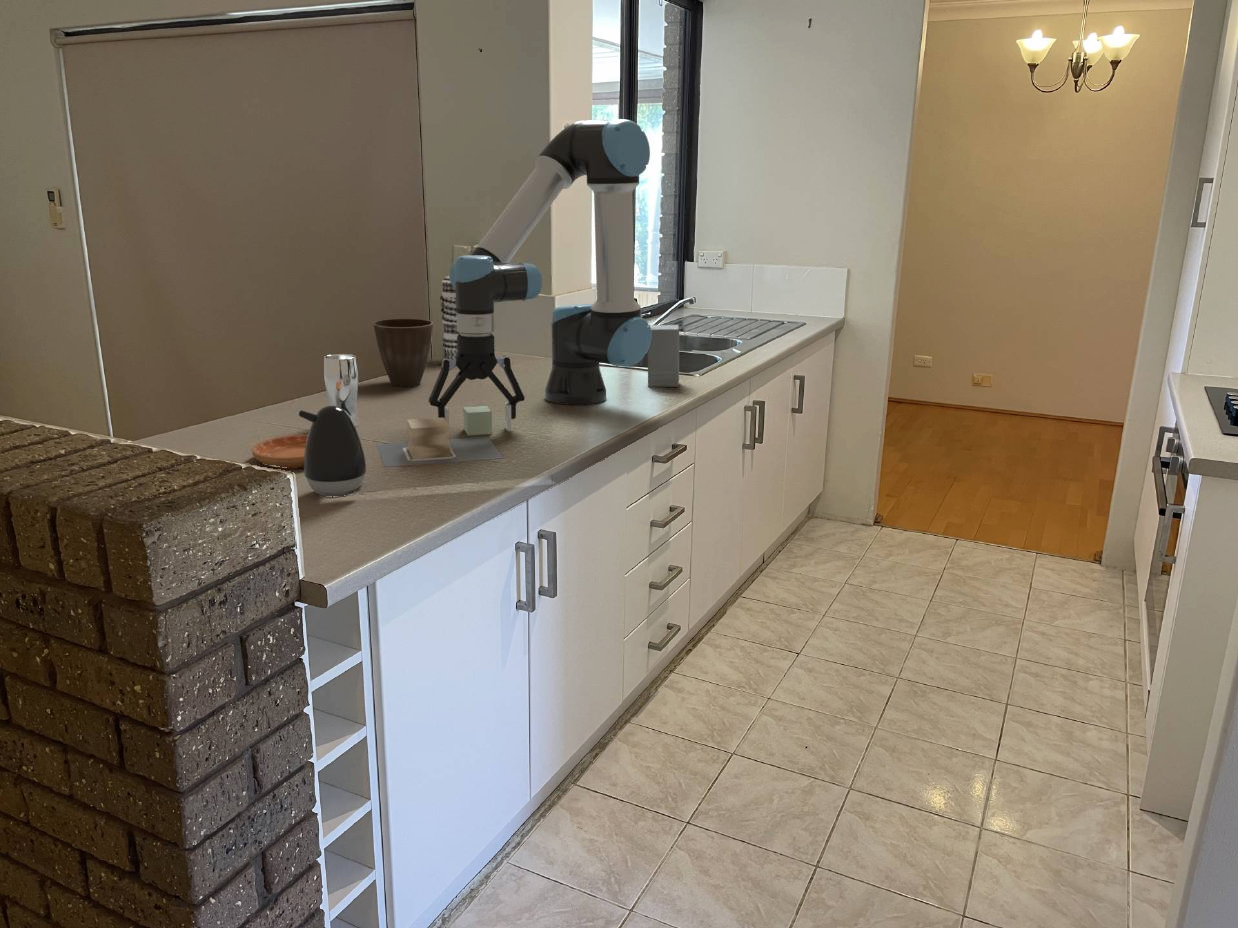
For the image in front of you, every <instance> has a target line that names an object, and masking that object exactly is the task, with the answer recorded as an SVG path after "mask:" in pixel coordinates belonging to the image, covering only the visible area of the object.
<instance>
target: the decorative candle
mask: <svg viewBox="0 0 1238 928" xmlns="http://www.w3.org/2000/svg"><path fill="white" fill-rule="evenodd" d="M441 282H442V292H441V293H442V294H441V295H440V297H439V299H440V300H441V301H442V302H441V303H440V307H441V309H440V312H441V314H442V315H441V319H442V320H441V322H442V323H443V329H444V331H443V338H442V342H443V344H442V347H444V349H443V350H442V353H443V356H442V357H443V358H446V359H453V360H456V358H457V336H458V335H459V334H460V333H459V332H457V317H456V289H455V288H454V287H453V286H452V284H451V282H450V278H449V274H447V275H445V276H444V278H443V280H441ZM443 358H442V359H443Z"/></svg>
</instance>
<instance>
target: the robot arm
mask: <svg viewBox="0 0 1238 928" xmlns="http://www.w3.org/2000/svg"><path fill="white" fill-rule="evenodd" d="M650 157H651V146H650V142H649V140H648V136H647V135H646V132H645V131H644V130H643V129H642V127H641V126H640V125H639V124H638V123H636V122H635V121H633V120H630V119H623V118H612V119H595V120H593V119H592V120H589V119H584V120H579V121H576V122H573V123H571V124H569V125H568V126H566V127H564V128H563V129H562V130H561V131H560V132H559V133H558V134H556V135H555V136H554V137H553V138H552V140H550V142H548V143H547V145H545V147H544V148H543V149H542V151H541V152H540V153H539V155H538V156H537V157H536V159H535V163H534V165H535V167H534V169H533V171H532V172H531V173H530V174H529V176H528V177H527V178H526V180H525V181H524V183H522V185H521V186H520V188H519V189H518V191H517V192H516V193H515V194H514V196H513V197H512V199H511V200H510V201H509V203H508V204H507V206H506V207H505V208H504V209H503V211H502V212H501V214H500V215H499V216H498V218H497V219H496V220H495V221H494V222H493V224H492V226H491V227H490V228H489V230H488V231H487V233H486V234H485V235H484V237H482V239H481V241H480V242H479V243H478V244H477V246H476V248H475V249H474V250H473V251H472V253H471V254H470V255H460V256H458V257H457V258H456V260H455V261H454V262H453V263H452V265H451V266H450V267H449V268H450V269H449V272H448V273H449V274H448V275H449V278H450V282H451V284H452V286H453V287H454V288H455V289H456V317H457V332H459V333H460V334H459V335H458V336H457V358H456V360H453V359H446V358H442V359H441V368H440V371H439V374H438V376H437V378H436V381H435V383H434V386H433V388H432V391H431V392H430V395H429V398H428V403H429V405H430V406H431V407H436V408H437V418H444V419H445V420H446V422H447V423H448V425H449V426H450V412H449V411H450V409H449V406H447V404H448V403H449V402H450V401H451V399H452V398H453V397H454V395H455V394H456V392H457V391H458V390H459V388H460V387H461V386H462V384H463V383H464V382H465V381H466V380H470V381H473V380H476V379H479V380H485V379H487V378H489V379H490V381H491V382H492V383H493V384H494V385H495V387H497V389H498V390H499V391H500V393H501V394H502V395H503V396H504V397H505V399H506V400H507V401H508V402H504V426H505V427H504V428H505V430H506V431H508V432H512V420H516V417H517V404H518V403H519V402H523V401H525V395H524V394H523V391H522V389H521V387H520V384H519V383H518V380H517V378H516V376H515V374H514V371H513V370H512V366H511V359H510V357H508V356H507V355H503V356H502V357H501V356H500V357H496V354H495V336H494V334H493V332H495V314H494V313H495V309H494V308H495V303H499V302H500V303H502V302H517V301H521V302H524V301H525V302H526V301H527V300H532V299H535V298H536V297H538V296H539V295H540V293H541V292H542V288H543V277H542V273H541V271H540V269H539V268H538V267H537V266H536V264H532V263H527V262H525V263H524V262H519V263H509V262H510V261H511V260H512V259H513V257H514V256H515V255H516V254H517V252H518V250H519V249H520V248H521V246H522V245H523V244H524V242H525V241H526V240H527V238H528V237H529V236H530V234H531V232H532V231H533V230H534V229H535V227H536V226H537V224H538V223H539V222H540V220H541V219H542V218H543V217H544V215H545V214H546V212H547V211H548V210H549V209H550V207H551V205H552V204H553V203H554V201H555V200H556V199H557V197H558V196H559V195H560V193H561V192H562V191H563V190H567V189H569V188H570V187H571V186H572V185H573V183H574V182H575V181H576V180H577V179H579V178H581V177H584V176H586V185H587V186H588V188H589V189H590V190H592V193H593V201H594V202H593V204H594V206H593V207H594V209H593V210H594V235H595V236H594V237H595V238H594V239H595V240H594V242H595V247H594V248H595V273H596V274H595V275H596V277H595V280H596V300H595V302H594V303H589V304H575V305H574V304H573V305H564V306H563V305H562V306H558V307H555V308H554V310H553V311H552V316H551V317H552V319H551V357H552V358H551V362H552V363H551V364H552V366H551V370H550V373H549V377H548V378H547V379H548V380H547V382H546V387H545V389H544V398H545V400H546V401H548V402H551V403H555V404H562V405H574V406H575V405H576V406H577V405H582V406H583V405H592V404H597V403H602V402H605V401H606V399H607V388H606V385H605V382H604V378H603V375H602V372H601V367H600V366H601V365H600V363H604V364H609V365H612V366H614V367H615V366H616V367H632V366H635V365H636V364H638V363H640V362H641V361H642V360H643V359H644V357H645V355H646V354H648V349H649V347H650V344H651V338H652V332H651V328H650V325H651V324H649V322H648V321H647V320H646V319H645V318H644V317H642V310H641V309H642V307H641V304H639V303H638V302H637V301H636V300H635V281H634V280H635V279H634V277H635V276H634V275H635V273H634V272H635V270H634V269H635V268H634V265H635V264H634V263H635V262H634V214H633V212H634V211H633V210H634V209H633V208H634V207H633V206H634V205H633V204H634V202H633V201H634V197H633V192H634V190H635V189H636V188H637V187H638V186H639V184H640V176H641V174H642V173H644V172H645V171H646V169H647V165H649V163H650V160H651V158H650ZM497 364H498V365H499V367H500V368H501V369H503V371H504V373H505V376H506V377H507V379H508V382H509V384H510V385H511V387H512V390H513V392H514V394H515V395H513V394H511V392H510V391H509V390H508V389H507V387H505V385H504V384H503V383H502V382H501V380H500V379H499V378H498V377H497V376H496V375H495V373H494V372H493V371H494V369H495V367H496V366H497ZM454 366H456V367H457V368H458V370H459V371H458V373H456V375H455V378H454V379H453V380H452V381H451V383H450V384H449V386H448V387H447V389H446V390H445V391H444V392H443V394H442V396H441V397H440V395H441V393H442V390H443V388H444V385H445V383H446V381H447V378H448V377H449V376H448V375H449V372H450V371H451V370H453V367H454ZM439 397H440V398H439Z"/></svg>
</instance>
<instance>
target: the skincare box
mask: <svg viewBox="0 0 1238 928" xmlns="http://www.w3.org/2000/svg"><path fill="white" fill-rule="evenodd" d="M649 325H650V328H651V332H652V338H651V344H650V347H649V349H648V351H647V386H648V388H649V387H650V388H651V387H652V388H656V387H657V388H678V387H679V382H680V325H679V324H665V325H664V324H663V325H662V324H660V325H659V324H658V325H657V324H649Z"/></svg>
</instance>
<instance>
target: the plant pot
mask: <svg viewBox="0 0 1238 928" xmlns="http://www.w3.org/2000/svg"><path fill="white" fill-rule="evenodd" d="M433 325H434V322H433V321H431V320H428V319H423V318H422V319H420V318H389V319H388V318H387V319H382V320H381V319H380V320H377V321H374V322H373V330H374V334H375V339H376V343H377V347H378V351H379V355H380V358H381V361H382V364H383V366H384V370H385V372H386V375H387V377H388V380H389V382H390V384H391V385H392V386H395V387H414V386H418V385H420V384H421V383H422V379H423V376H424V373H425V369H426V367H427V366H426V365H427V362H428V358H429V353H430V349H431V343H432V335H433Z"/></svg>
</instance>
